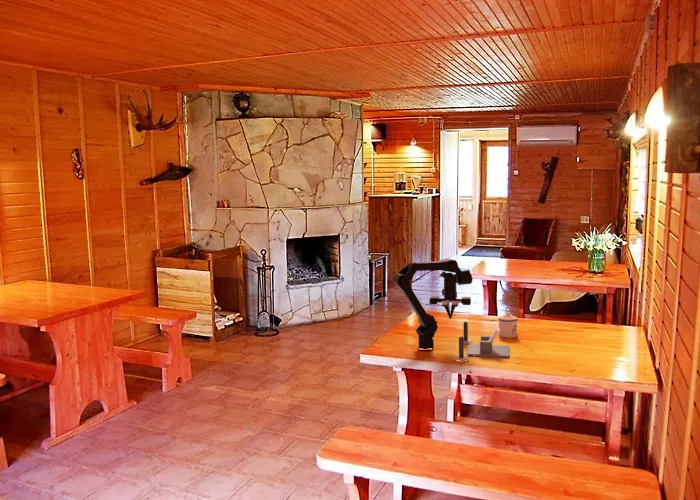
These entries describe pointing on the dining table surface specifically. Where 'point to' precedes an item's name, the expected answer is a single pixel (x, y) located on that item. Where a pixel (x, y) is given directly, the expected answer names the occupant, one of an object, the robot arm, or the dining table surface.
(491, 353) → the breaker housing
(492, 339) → the block
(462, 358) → the post
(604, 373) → the dining table surface
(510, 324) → the teacup with lid
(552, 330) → the dining table surface
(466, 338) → the post
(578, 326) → the dining table surface
